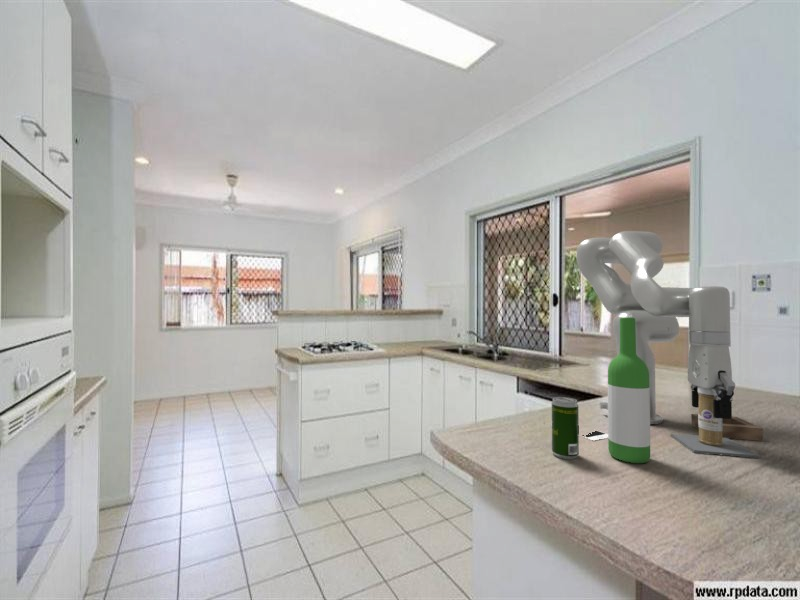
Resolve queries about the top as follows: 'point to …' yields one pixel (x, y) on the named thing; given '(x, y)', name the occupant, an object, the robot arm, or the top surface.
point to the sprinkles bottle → (708, 419)
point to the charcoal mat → (725, 449)
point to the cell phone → (596, 435)
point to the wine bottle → (628, 400)
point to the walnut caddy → (736, 428)
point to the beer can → (565, 428)
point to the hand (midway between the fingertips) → (710, 412)
